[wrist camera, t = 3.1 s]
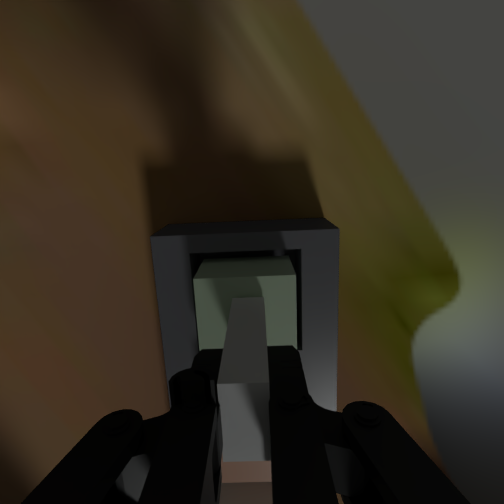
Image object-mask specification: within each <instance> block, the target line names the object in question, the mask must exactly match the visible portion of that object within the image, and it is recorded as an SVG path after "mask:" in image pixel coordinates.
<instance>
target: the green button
mask: <svg viewBox="0 0 504 504" xmlns="http://www.w3.org/2000/svg"><path fill="white" fill-rule="evenodd" d="M193 283H194V294H195V305H196V317H197V328H198V339H199V350H200V351H201V350H202V349H222V348H223V347H224V342H225V336H226V331H227V325H228V319H229V314H230V308H231V303H232V298H245V297H264V303H265V320H266V337H267V346H283V345H293V346H294V347H295V348H296V349H297V309H296V273H295V271H294V268H293V266H292V263H291V260H290V258H289V255H287V256H262V257H238V258H213V259H204V260H203V262H202V264H201V265H200V267H199V269H198V271H197V273H196V275H195V276H194V278H193Z"/></svg>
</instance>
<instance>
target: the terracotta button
mask: <svg viewBox="0 0 504 504" xmlns="http://www.w3.org/2000/svg"><path fill="white" fill-rule="evenodd" d="M221 471H222V483H239V482H272V479H271V461H241V462H223V455H222V459H221Z"/></svg>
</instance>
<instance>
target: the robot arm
mask: <svg viewBox="0 0 504 504" xmlns="http://www.w3.org/2000/svg"><path fill="white" fill-rule="evenodd" d="M168 383H169V391H170V400H171V408H170V411H169V412H167V413H165V414H163V415H161V416H158V417H154V418H150V419H147V420H143V419H142V416H141V414H140V413H139V412H137V411H135V410H132V409H123V410H119V411H115V412H112V413H110V414H108V415H106V416H104V417H103V418H102V419H100V420H99V421H98V422H97V423H96V424H95V425H94V426H93V427H92V428H91V429H90V430H89V431H88V432H87V434H86V435H85V436H84V437H83V438H82V439H81V440H80V441H79V442H78V443H77V444H76V445H75V446H74V447H73V448H72V450H71V451H70V452H69V453H68V454H67V455H66V456H65V457H64V458H63V459H62V460H61V461H60V462H59V463H58V464H57V466H56V467H55V468H54V469H53V470H52V471H51V472H50V473H49V474H48V475H47V476H46V477H45V478H44V479H43V480H42V482H41V483H40V484H39V485H38V486H37V487H36V488H35V489H34V490H33V491H32V492H31V493H30V494H29V495H28V496H27V497H26V499H25V500H24V501H23V502H22V503H21V504H219V501H220V492H221V483H222V471H221V459H222V455H223V462H241V461H271V479H272V501H273V504H339V503H338V499H337V495H336V493H338V494H341V497H342V500H343V502H344V504H470V503H469V502H468V500H467V499H466V498H465V497H464V496H463V495H462V494H461V493H460V491H459V490H458V489H457V488H456V487H455V486H454V485H453V484H452V482H451V481H450V480H449V479H448V478H447V477H446V476H445V475H444V474H443V472H442V471H441V470H440V469H439V468H438V467H437V466H436V465H435V463H434V462H433V461H432V460H431V459H430V458H429V457H428V456H427V454H426V453H425V452H424V451H423V450H422V449H421V448H420V447H419V446H418V444H417V443H416V442H415V441H414V440H413V439H412V438H411V437H410V435H409V434H408V433H407V432H406V431H405V430H404V429H403V428H402V426H401V425H400V424H399V423H398V422H397V421H396V420H395V419H394V418H393V416H392V415H391V414H390V413H389V412H388V411H387V410H385V409H384V408H383V407H381V406H379V405H377V404H375V403H371V402H366V401H355V402H352V403H350V404H347V405H346V407H345V408H344V409H343V412H342V413H341V412H336V411H332V410H328V409H325V408H323V407H321V406H319V405H317V404H316V403H315V402H314V400H313V399H312V397H311V395H309V393H308V388H307V384H306V379H305V375H304V371H303V366H302V362H301V358H300V353H299V351H298V350H297V349H296V348H295V347H294V346H293V345H283V346H267V337H266V320H265V303H264V297H245V298H232V303H231V308H230V314H229V319H228V325H227V331H226V336H225V342H224V347H223V348H222V349H202V350H201V351H200V352H199V353H198V354H196V355H195V356H194V359H193V362H192V366H191V368H188V369H185V370H182V371H179V372H177V373H176V374H175V375H173V376H172V377H171V378H170V380H169V381H168Z"/></svg>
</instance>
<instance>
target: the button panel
mask: <svg viewBox="0 0 504 504" xmlns="http://www.w3.org/2000/svg"><path fill="white" fill-rule="evenodd" d="M150 240H151V248H152V257H153V265H154V274H155V282H156V291H157V300H158V308H159V317H160V325H161V334H162V342H163V351H164V359H165V368H166V376H167V385H168V393H169V402H170V408H171V400H170V391H169V383H168V381H169V380H170V378H171V377H172V376H173V375H175V374H176V373H177V372H179V371H182V370H185V369H188V368H191V366H192V362H193V359H194V356H195V355H196V354H198V353H199V352H200V350H199V339H198V328H197V317H196V305H195V294H194V283H193V278H194V276H195V275H196V273H197V271H198V269H199V267H200V265H201V264H202V262H203V260H204V259H213V258H238V257H262V256H287V255H289V258H290V260H291V263H292V266H293V268H294V271H295V273H296V309H297V350H298V351H299V353H300V358H301V362H302V366H303V371H304V375H305V379H306V384H307V388H308V393H309V395H311V397H312V399H313V400H314V402H315V403H316V404H317V405H319V406H321V407H323V408H325V409H328V410H332V411H336V397H337V340H338V282H339V228H338V227H336V226H335V225H334V224H332V223H331V222H330V221H328V220H327V219H325V218H306V219H282V220H259V221H235V222H212V223H188V224H168V225H167V226H165V227H164V228H162V229H161V230H159V231H158V232H156V233H155V234H153V235H152V236H150Z"/></svg>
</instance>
